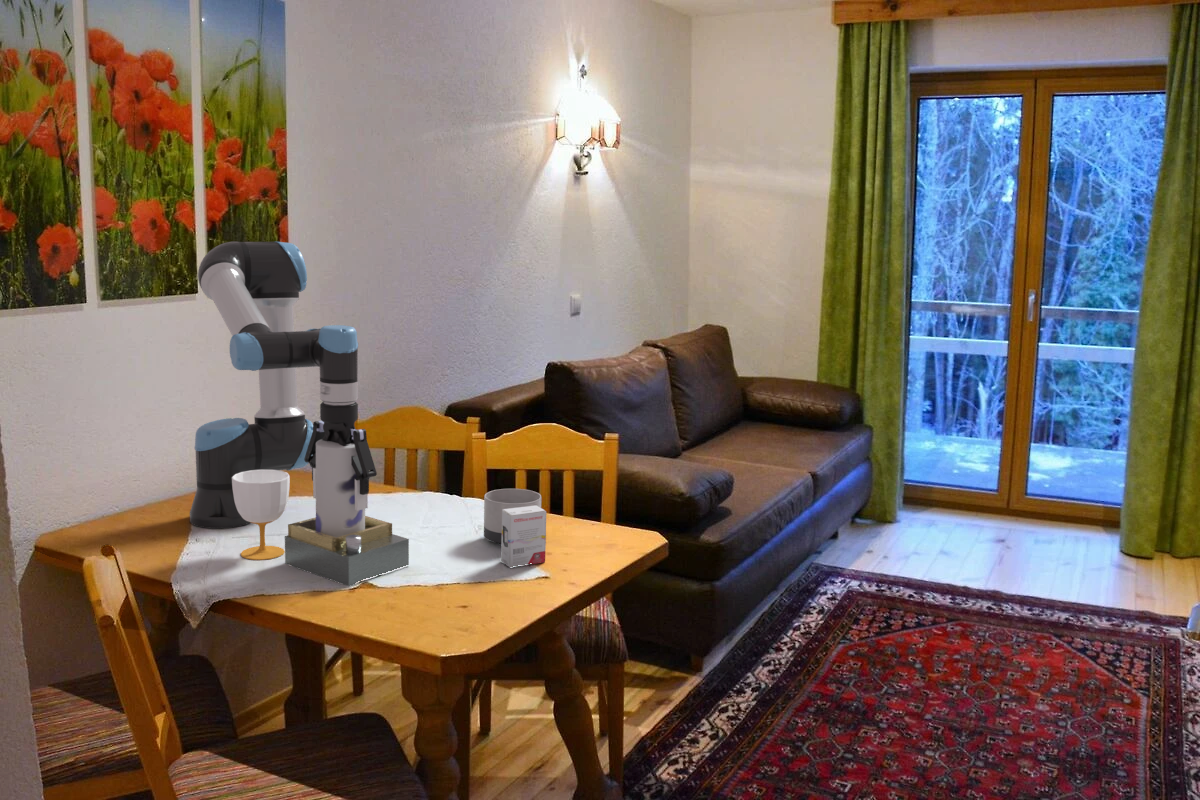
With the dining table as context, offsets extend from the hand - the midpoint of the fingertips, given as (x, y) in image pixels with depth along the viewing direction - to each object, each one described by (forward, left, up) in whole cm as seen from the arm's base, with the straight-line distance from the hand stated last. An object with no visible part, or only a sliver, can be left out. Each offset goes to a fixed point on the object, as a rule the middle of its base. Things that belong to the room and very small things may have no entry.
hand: (340, 503), depth 228 cm
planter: (+16, +36, -13) cm, 42 cm away
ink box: (+28, +26, -13) cm, 40 cm away
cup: (-17, -7, -13) cm, 23 cm away
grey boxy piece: (+2, 0, -13) cm, 13 cm away
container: (0, 0, -7) cm, 7 cm away
